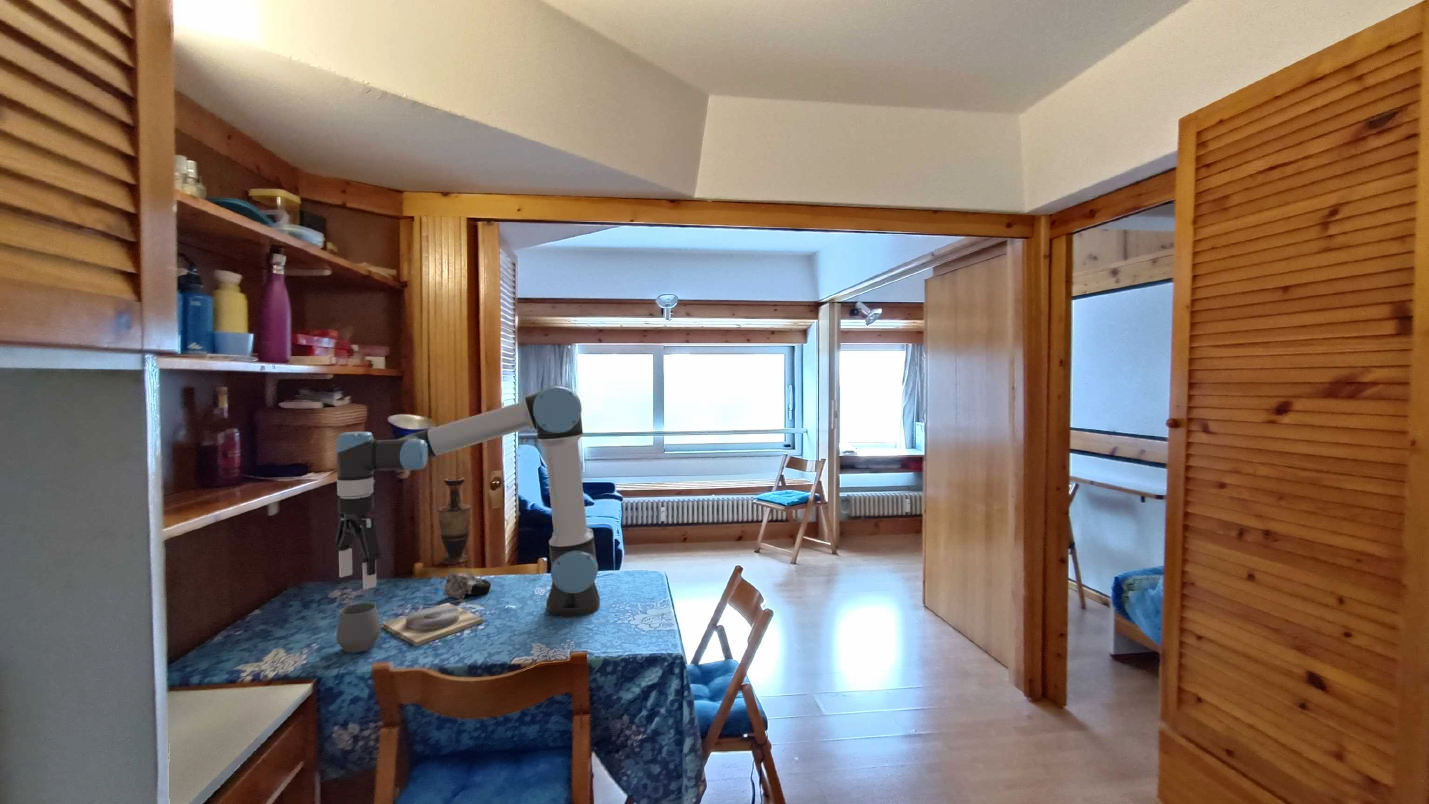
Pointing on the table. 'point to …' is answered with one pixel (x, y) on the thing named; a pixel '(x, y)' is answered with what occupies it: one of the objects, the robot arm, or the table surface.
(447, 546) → the vase
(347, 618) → the cup
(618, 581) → the table surface
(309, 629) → the table surface
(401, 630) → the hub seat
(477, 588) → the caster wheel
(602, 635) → the table surface
